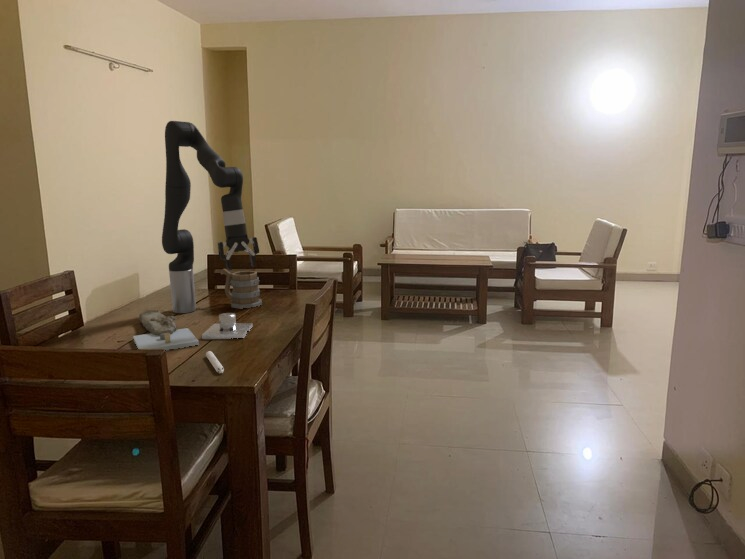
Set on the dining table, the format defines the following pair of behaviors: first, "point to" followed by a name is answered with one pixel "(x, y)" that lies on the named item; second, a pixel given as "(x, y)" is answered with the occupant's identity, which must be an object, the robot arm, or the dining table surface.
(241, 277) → the tankard
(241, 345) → the dining table surface
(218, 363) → the marker
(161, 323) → the long grey stone
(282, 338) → the dining table surface
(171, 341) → the base plate
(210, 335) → the flange plate
